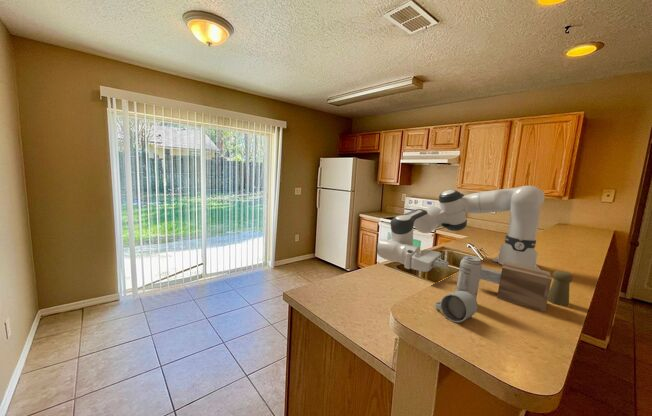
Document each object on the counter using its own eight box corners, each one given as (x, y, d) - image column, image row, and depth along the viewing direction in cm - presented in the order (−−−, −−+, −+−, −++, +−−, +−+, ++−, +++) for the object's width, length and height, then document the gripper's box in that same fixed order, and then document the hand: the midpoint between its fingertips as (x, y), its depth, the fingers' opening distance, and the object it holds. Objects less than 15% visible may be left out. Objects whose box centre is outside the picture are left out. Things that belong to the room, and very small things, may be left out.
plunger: (474, 275, 103) (476, 263, 102) (515, 286, 95) (517, 273, 95) (472, 279, 99) (474, 266, 98) (514, 290, 91) (517, 276, 91)
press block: (498, 289, 100) (504, 261, 98) (543, 302, 92) (549, 271, 91) (496, 298, 93) (502, 267, 91) (544, 312, 85) (551, 279, 84)
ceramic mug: (477, 319, 78) (481, 293, 77) (465, 328, 73) (469, 301, 72) (442, 303, 86) (445, 280, 85) (428, 310, 81) (431, 286, 80)
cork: (573, 307, 90) (580, 276, 89) (552, 304, 91) (559, 273, 90) (561, 299, 96) (567, 270, 95) (542, 296, 97) (548, 267, 96)
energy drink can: (478, 308, 84) (486, 262, 82) (459, 306, 85) (466, 260, 82) (469, 299, 90) (476, 256, 88) (451, 297, 91) (458, 254, 88)
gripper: (419, 257, 122) (452, 266, 114) (403, 269, 106) (440, 280, 98) (421, 244, 121) (454, 251, 113) (405, 253, 105) (442, 263, 97)
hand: (447, 265), depth 106 cm, fingers closed
